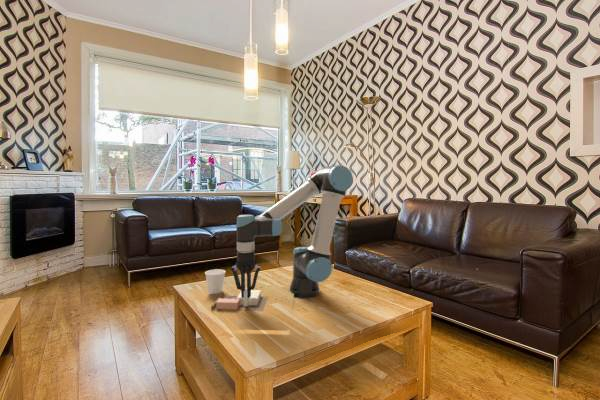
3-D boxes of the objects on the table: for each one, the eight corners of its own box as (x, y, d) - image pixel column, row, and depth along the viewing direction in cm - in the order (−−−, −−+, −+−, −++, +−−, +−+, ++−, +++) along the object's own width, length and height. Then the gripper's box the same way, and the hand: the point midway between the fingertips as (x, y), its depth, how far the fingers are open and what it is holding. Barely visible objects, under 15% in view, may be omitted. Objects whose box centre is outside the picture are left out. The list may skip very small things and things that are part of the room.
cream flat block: (260, 296, 151) (260, 290, 151) (257, 305, 140) (257, 298, 140) (242, 296, 152) (242, 289, 151) (236, 304, 141) (236, 297, 140)
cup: (220, 298, 152) (220, 275, 151) (201, 296, 154) (201, 274, 153) (228, 291, 161) (228, 269, 161) (210, 289, 163) (210, 268, 163)
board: (268, 299, 151) (268, 293, 151) (262, 313, 134) (262, 307, 134) (222, 298, 152) (222, 292, 152) (211, 312, 135) (211, 306, 135)
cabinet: (239, 305, 140) (239, 298, 140) (237, 309, 135) (237, 302, 135) (219, 304, 140) (219, 297, 140) (216, 309, 135) (216, 302, 135)
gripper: (262, 249, 140) (262, 301, 141) (232, 249, 140) (233, 301, 142) (259, 253, 132) (259, 308, 134) (228, 252, 133) (229, 308, 134)
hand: (246, 304), depth 138 cm, fingers closed
